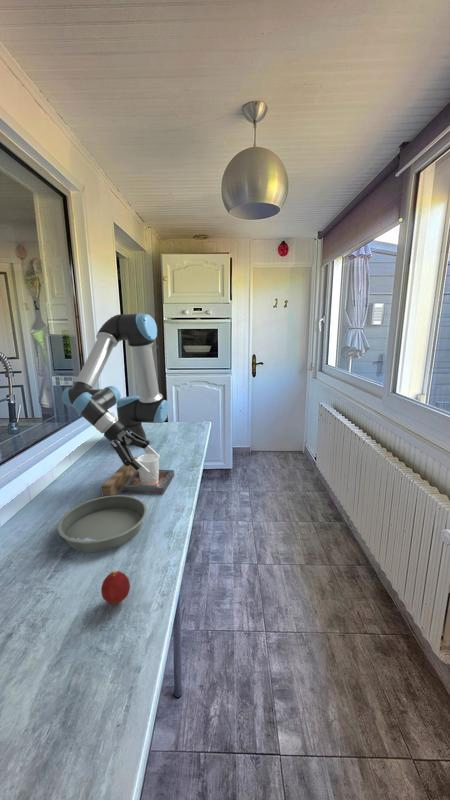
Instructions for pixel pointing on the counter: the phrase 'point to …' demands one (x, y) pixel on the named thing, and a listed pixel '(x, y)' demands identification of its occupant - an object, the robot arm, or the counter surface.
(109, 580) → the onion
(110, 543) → the cake pan
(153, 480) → the white cup
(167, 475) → the square tray
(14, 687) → the counter surface
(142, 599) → the counter surface
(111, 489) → the board
